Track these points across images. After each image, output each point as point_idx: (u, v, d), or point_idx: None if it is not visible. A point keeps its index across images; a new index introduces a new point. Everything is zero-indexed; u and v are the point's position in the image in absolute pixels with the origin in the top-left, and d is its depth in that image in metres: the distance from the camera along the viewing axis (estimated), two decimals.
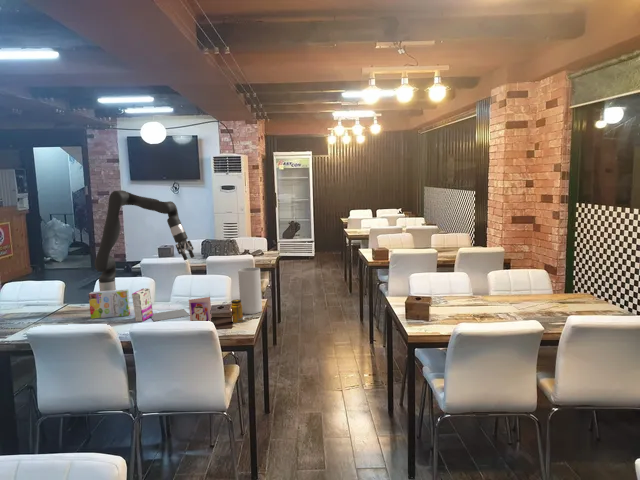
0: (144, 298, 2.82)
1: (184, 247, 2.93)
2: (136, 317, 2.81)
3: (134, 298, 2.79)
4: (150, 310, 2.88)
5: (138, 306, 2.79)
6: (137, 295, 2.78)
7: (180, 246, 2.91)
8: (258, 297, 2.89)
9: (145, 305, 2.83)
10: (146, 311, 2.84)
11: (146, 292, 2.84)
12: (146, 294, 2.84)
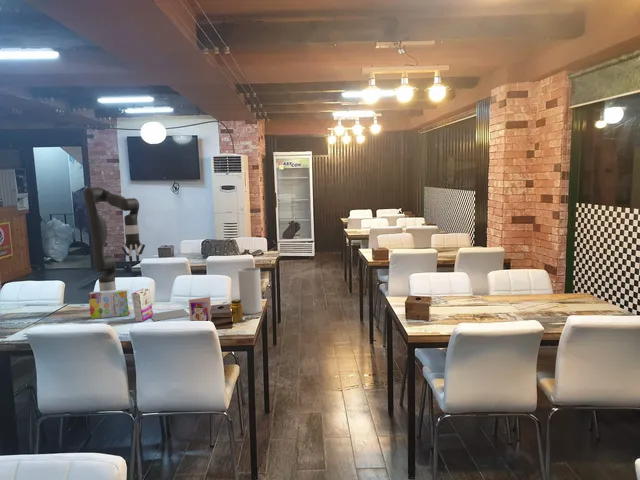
0: (144, 298, 2.83)
1: None
2: (136, 317, 2.81)
3: (134, 298, 2.79)
4: (150, 310, 2.89)
5: (138, 306, 2.79)
6: (137, 295, 2.78)
7: (123, 249, 2.90)
8: (258, 297, 2.89)
9: (145, 305, 2.83)
10: (146, 311, 2.84)
11: (145, 292, 2.84)
12: (145, 294, 2.84)
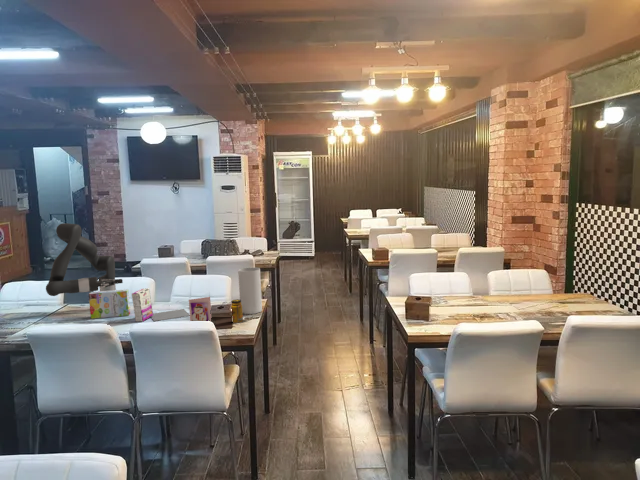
0: (144, 298, 2.83)
1: None
2: (136, 317, 2.81)
3: (134, 298, 2.79)
4: (150, 310, 2.89)
5: (138, 306, 2.79)
6: (137, 295, 2.78)
7: None
8: (258, 297, 2.89)
9: (145, 305, 2.83)
10: (146, 311, 2.84)
11: (145, 292, 2.84)
12: (145, 294, 2.84)
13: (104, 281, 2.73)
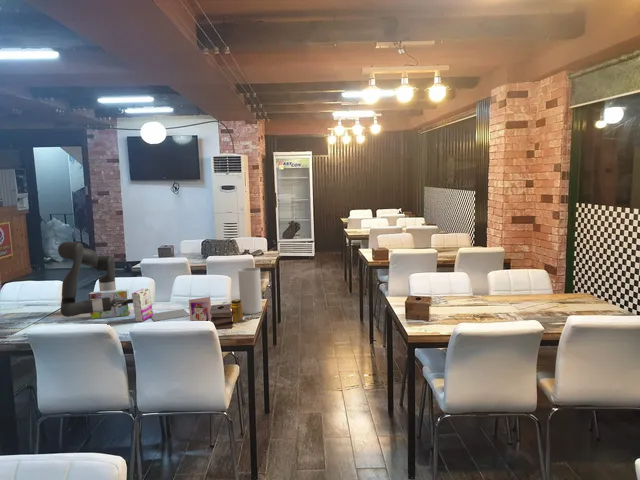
0: (144, 298, 2.83)
1: None
2: (136, 317, 2.81)
3: (134, 298, 2.79)
4: (150, 310, 2.89)
5: (138, 306, 2.79)
6: (137, 295, 2.78)
7: None
8: (258, 297, 2.89)
9: (145, 305, 2.83)
10: (146, 311, 2.84)
11: (145, 292, 2.84)
12: (145, 294, 2.84)
13: (117, 301, 2.77)
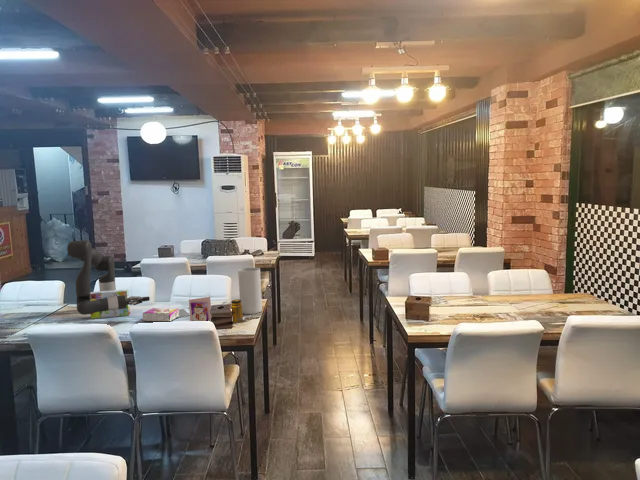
0: None
1: None
2: (146, 314, 2.79)
3: (164, 315, 2.77)
4: None
5: (157, 318, 2.78)
6: (167, 319, 2.77)
7: None
8: (258, 297, 2.89)
9: None
10: None
11: None
12: None
13: (132, 299, 2.80)
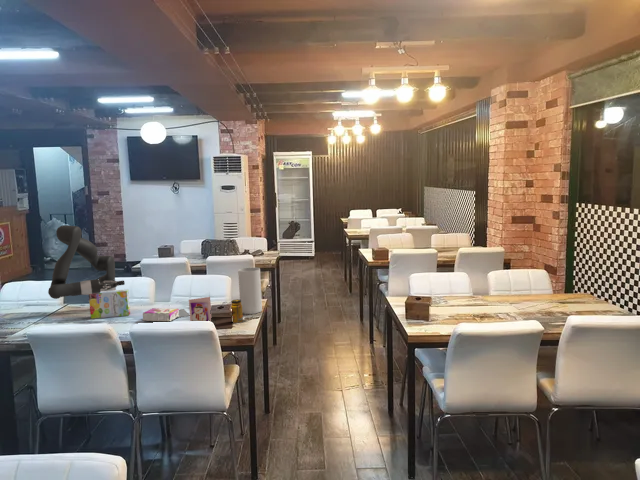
0: None
1: None
2: (146, 314, 2.79)
3: (164, 315, 2.77)
4: None
5: (157, 318, 2.78)
6: (167, 319, 2.77)
7: None
8: (258, 297, 2.89)
9: None
10: None
11: None
12: None
13: (106, 283, 2.73)
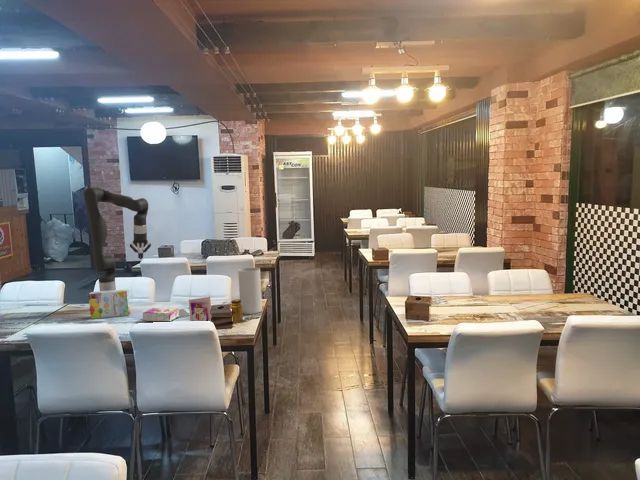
0: None
1: None
2: (146, 314, 2.79)
3: (164, 315, 2.77)
4: None
5: (157, 318, 2.78)
6: (167, 319, 2.77)
7: (132, 247, 3.04)
8: (258, 297, 2.89)
9: None
10: None
11: None
12: None
13: None
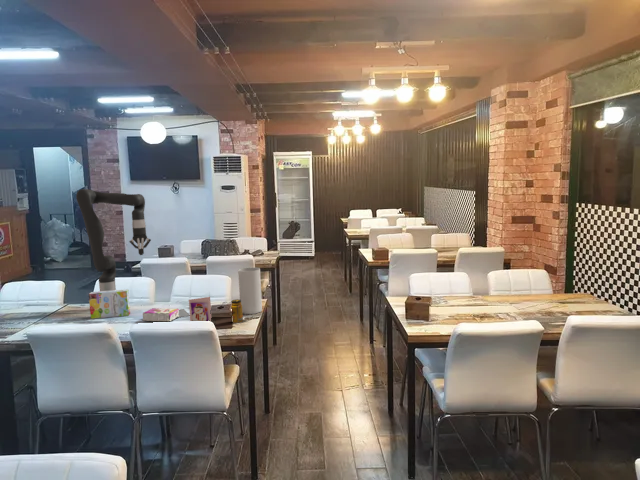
0: None
1: None
2: (146, 314, 2.79)
3: (164, 315, 2.77)
4: None
5: (157, 318, 2.78)
6: (167, 319, 2.77)
7: (132, 243, 3.06)
8: (258, 297, 2.89)
9: None
10: None
11: None
12: None
13: None
